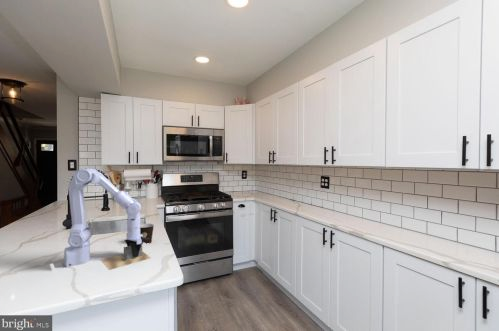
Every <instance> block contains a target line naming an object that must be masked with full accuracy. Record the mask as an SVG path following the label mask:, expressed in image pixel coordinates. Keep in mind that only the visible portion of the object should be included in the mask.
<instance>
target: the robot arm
mask: <svg viewBox="0 0 499 331" xmlns="http://www.w3.org/2000/svg"><path fill="white" fill-rule="evenodd" d="M89 184H94V185H99V186H101V187H102V189H103V190H105V191H107V192H108V193H109V194H111V195H112V196H113V201H114V202H115V203H117V204H118V205H119V206H120V207H121V208H123V209H125V213H126V214H127V217H126V218H127V219H126V231H127V232H126V235H125V236H126V238H125V239H124V242H125V244H126V247H127V246H131V249H132V255H133V257H138V255H139V251H140V248H141V246H142V247H143V243H144V242H142V239H141V237H142V236H143V235H142V234H140V225H141V210H142V205H141V203H140V201H137V200H136V199H135V198H133V197H131V196H130V195H129V192H128V191H124V190H119V189H118V188H117V187H116V185H114V184H113V183H112V182H111V181H110V180H109V179H108V178H107V177H106V176H105V175H104V174H103V173H101V172H100V171H98V169H96V168H94V167H87V168H81V169H78V170H77V171H76V172H74V173H73V177H72V179H71V180H70V182H69V184H68V195H69V196H68V197H69V206H70V216H71V227H70V230H69V237H68V238H67V243H68V245H69V246H68V247H65V248H64V252H63V253H64V255H63V257H64V261H63V265H64V266H65V267H66V268H71V267H73V266H80V265H84V264H87V263H89V262H90V261H91V241H90V239H91V238H92V236H93V233H92V230H91V229H90V225H89V223H88V222H87V215H86V206H85V196H84V195H85V194H84V189H85V188H86V187H87V186H88V185H89Z"/></svg>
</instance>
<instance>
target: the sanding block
mask: <svg viewBox="0 0 499 331" xmlns="http://www.w3.org/2000/svg"><path fill="white" fill-rule="evenodd" d="M142 251H143V245H142V246H141V248H140V251H139V255H138V257H142ZM123 254H124V258H125V259H126V260H131V259H135V258H138V257H133V255H132V249H131V246H127V245H126V246H124V247H123Z"/></svg>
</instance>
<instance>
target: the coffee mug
mask: <svg viewBox="0 0 499 331" xmlns="http://www.w3.org/2000/svg"><path fill="white" fill-rule="evenodd" d="M154 227H155V226H154V224H153V223H140V234H142V235H143V236H142V237H141V239H142V242H143V243H145V245H148V244H147V243H149V244H151V243H152V241H153V232H154Z"/></svg>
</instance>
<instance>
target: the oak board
mask: <svg viewBox="0 0 499 331" xmlns="http://www.w3.org/2000/svg"><path fill="white" fill-rule="evenodd" d="M149 259H152V257H151V256H149V255H148V254H147V253H145V252H144V251H143V250H142V257H138V258H135V259H131V260H126V259H125V258H124V253H122V254H118V255H114V256H110V257H107V258H103V259H102V258H101V259H100V261H101V263H102V264H103V265H104V266H105V267H106V269H107V270H109V271H110V270H114V269H119V268H122V267H124V266H129V265H131V264H132V265H133V264H135V263H136V264H137V263H139V262H143V261H145V260H149Z"/></svg>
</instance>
